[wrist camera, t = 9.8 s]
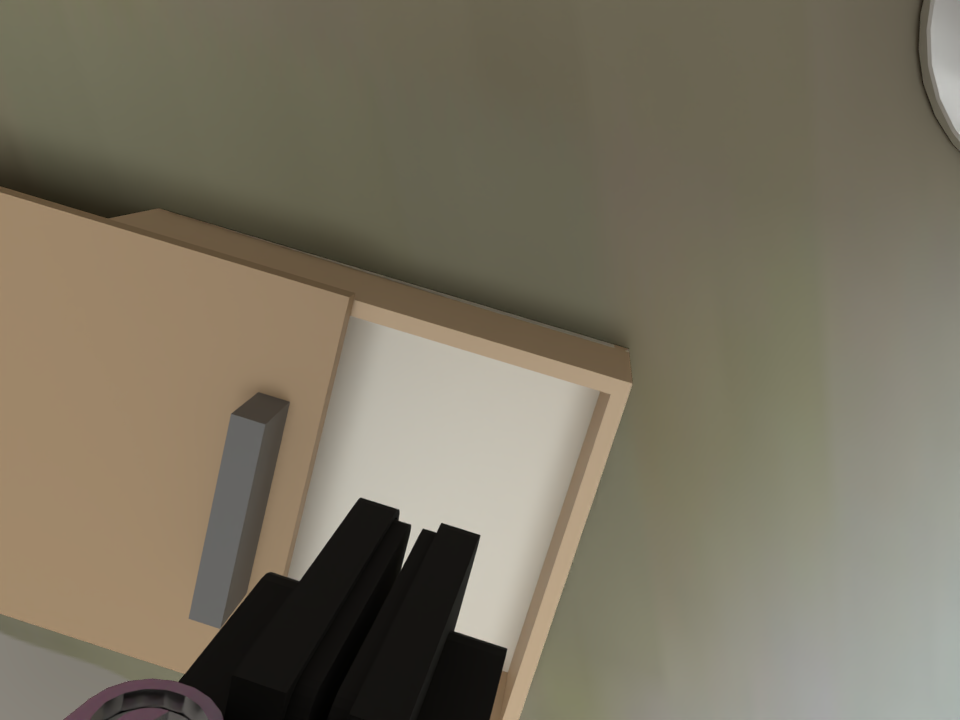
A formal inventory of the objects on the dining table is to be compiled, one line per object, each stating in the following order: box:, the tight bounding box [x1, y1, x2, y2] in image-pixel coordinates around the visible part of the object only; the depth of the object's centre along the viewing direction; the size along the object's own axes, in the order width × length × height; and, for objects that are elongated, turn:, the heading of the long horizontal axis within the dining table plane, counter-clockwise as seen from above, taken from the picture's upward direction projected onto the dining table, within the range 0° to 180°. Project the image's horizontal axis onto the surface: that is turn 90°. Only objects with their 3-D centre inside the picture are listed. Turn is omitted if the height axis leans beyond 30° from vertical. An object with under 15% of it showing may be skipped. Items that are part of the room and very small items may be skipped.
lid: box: [0, 186, 355, 674], centre depth 33 cm, size 21×17×3 cm
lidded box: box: [109, 208, 633, 720], centre depth 37 cm, size 20×16×5 cm
